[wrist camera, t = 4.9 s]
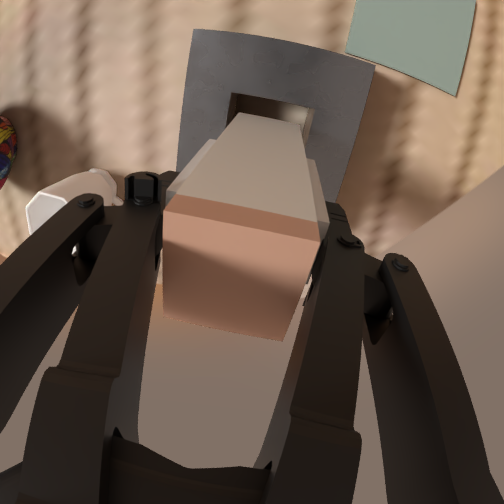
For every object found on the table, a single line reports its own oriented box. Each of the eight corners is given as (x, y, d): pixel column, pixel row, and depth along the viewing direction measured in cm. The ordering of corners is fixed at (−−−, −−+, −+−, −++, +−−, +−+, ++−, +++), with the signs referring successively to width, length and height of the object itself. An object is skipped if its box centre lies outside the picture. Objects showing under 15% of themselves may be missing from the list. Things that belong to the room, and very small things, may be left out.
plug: (239, 112, 19) (163, 210, 8) (299, 124, 19) (320, 242, 8) (229, 167, 21) (163, 316, 10) (286, 178, 21) (282, 341, 10)
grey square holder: (207, 32, 19) (193, 28, 16) (361, 64, 20) (375, 65, 16) (187, 189, 28) (173, 210, 24) (318, 216, 28) (322, 240, 25)
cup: (84, 141, 25) (31, 175, 19) (166, 196, 28) (131, 245, 22) (65, 195, 29) (20, 235, 22) (137, 244, 32) (104, 296, 25)
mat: (366, -50, 14) (367, -51, 13) (473, 0, 14) (475, 0, 13) (344, 52, 19) (345, 52, 19) (453, 95, 20) (455, 96, 19)
